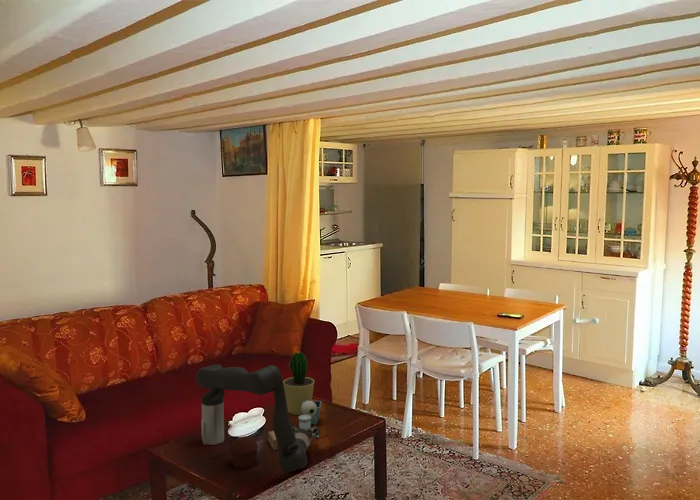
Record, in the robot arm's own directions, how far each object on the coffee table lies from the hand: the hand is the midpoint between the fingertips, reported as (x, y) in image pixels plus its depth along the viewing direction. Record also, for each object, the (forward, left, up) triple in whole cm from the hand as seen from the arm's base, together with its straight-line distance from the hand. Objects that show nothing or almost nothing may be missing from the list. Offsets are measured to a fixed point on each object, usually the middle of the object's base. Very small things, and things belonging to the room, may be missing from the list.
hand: (305, 426), depth 251 cm
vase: (0, -1, -8) cm, 8 cm away
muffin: (-28, -9, -8) cm, 31 cm away
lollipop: (+5, +9, -8) cm, 13 cm away
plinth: (-9, +3, -8) cm, 12 cm away
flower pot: (+10, +21, -8) cm, 24 cm away
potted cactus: (+9, +38, -8) cm, 40 cm away
